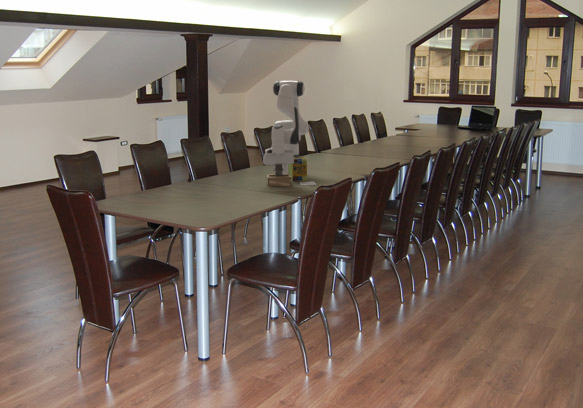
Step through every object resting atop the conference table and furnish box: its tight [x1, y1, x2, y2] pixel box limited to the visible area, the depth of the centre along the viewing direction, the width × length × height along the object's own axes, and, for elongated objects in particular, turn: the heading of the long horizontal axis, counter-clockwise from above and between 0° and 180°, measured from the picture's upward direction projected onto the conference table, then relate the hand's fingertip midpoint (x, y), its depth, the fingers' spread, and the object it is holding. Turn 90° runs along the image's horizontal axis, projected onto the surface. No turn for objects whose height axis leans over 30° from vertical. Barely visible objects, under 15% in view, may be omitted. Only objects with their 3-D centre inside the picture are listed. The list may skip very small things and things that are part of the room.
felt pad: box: [298, 181, 317, 187], centre depth 430 cm, size 12×10×1 cm
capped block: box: [274, 164, 283, 177], centre depth 427 cm, size 6×4×8 cm
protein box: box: [288, 156, 308, 182], centre depth 446 cm, size 10×15×16 cm
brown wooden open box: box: [266, 173, 292, 187], centre depth 428 cm, size 12×15×6 cm
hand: (278, 171), depth 427 cm, fingers closed on capped block, 4 cm apart
